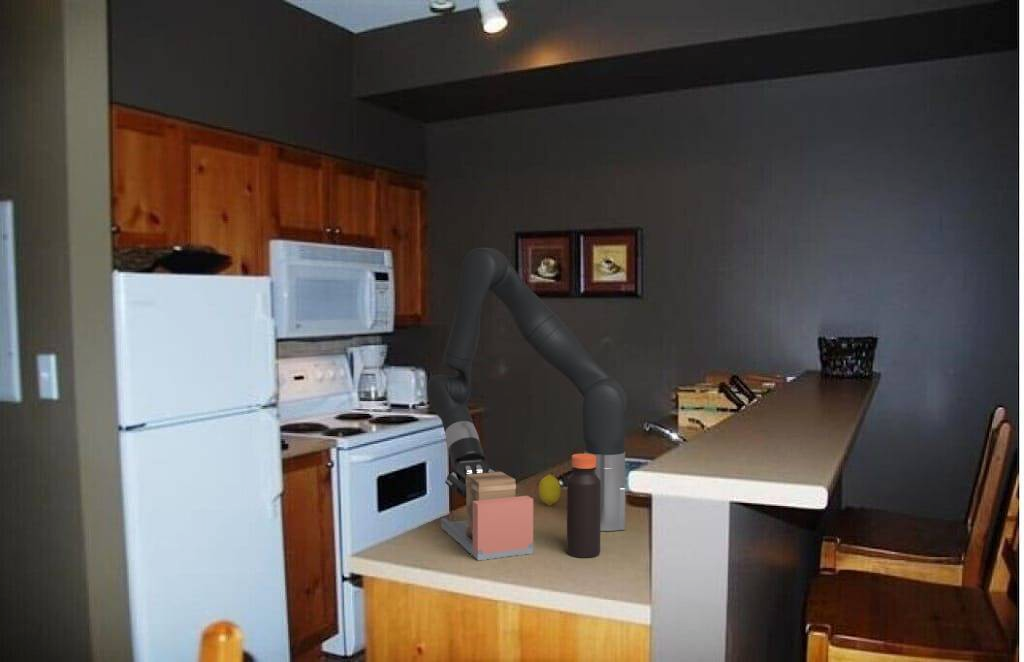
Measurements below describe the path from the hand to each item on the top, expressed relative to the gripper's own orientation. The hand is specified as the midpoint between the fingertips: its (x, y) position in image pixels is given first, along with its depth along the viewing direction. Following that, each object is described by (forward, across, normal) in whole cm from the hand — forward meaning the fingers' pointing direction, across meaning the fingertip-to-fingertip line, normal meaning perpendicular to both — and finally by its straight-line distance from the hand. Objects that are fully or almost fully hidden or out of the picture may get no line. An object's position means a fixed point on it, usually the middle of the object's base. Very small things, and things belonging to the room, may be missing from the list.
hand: (482, 511), depth 167 cm
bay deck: (+5, 0, +3) cm, 6 cm away
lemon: (-9, +25, +18) cm, 32 cm away
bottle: (+16, +16, -8) cm, 24 cm away
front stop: (+12, 0, -5) cm, 13 cm away
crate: (+7, 0, 0) cm, 7 cm away
